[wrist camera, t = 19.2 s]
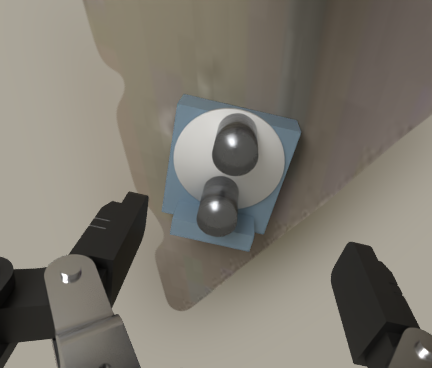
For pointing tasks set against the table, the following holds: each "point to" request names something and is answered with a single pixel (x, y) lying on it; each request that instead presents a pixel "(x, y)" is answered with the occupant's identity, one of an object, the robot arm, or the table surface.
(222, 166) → the cylinder
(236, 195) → the cylinder
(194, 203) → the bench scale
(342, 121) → the table surface
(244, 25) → the table surface
